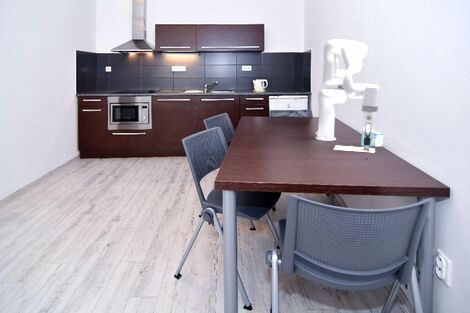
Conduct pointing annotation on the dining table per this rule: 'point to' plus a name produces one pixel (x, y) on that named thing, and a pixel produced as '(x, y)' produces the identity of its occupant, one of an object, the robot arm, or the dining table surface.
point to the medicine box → (377, 139)
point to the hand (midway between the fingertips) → (366, 144)
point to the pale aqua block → (364, 137)
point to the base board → (354, 149)
